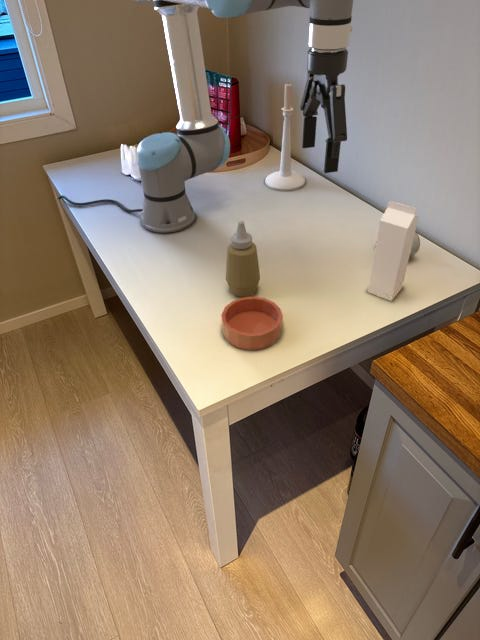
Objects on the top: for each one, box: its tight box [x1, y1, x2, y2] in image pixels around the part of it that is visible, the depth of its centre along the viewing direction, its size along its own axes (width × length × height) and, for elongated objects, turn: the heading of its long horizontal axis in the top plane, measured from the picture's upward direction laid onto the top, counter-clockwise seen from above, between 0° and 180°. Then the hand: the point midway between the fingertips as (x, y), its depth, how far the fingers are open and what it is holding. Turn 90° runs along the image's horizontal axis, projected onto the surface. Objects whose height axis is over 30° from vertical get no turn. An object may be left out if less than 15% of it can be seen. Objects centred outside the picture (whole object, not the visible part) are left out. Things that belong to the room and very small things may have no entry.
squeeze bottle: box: [225, 220, 261, 298], centre depth 109 cm, size 8×8×18 cm
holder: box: [220, 295, 284, 351], centre depth 103 cm, size 13×13×4 cm
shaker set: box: [120, 143, 141, 182], centre depth 160 cm, size 12×4×11 cm, turn 39°
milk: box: [367, 200, 420, 302], centre depth 106 cm, size 6×6×22 cm
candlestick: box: [264, 82, 306, 192], centre depth 148 cm, size 13×13×30 cm
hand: (318, 159), depth 104 cm, fingers open, 13 cm apart
